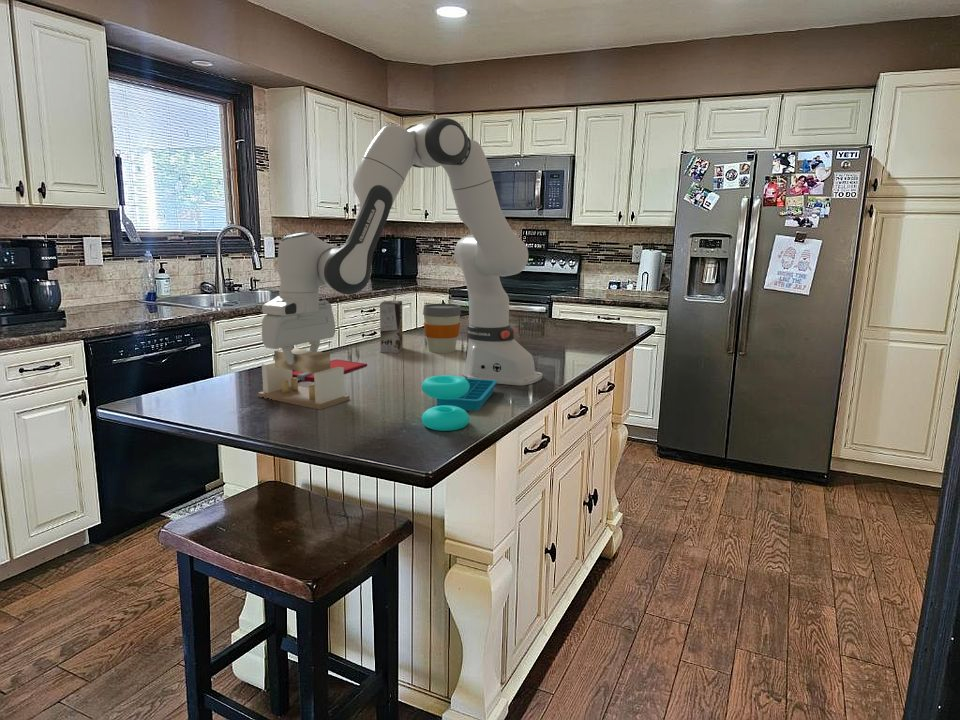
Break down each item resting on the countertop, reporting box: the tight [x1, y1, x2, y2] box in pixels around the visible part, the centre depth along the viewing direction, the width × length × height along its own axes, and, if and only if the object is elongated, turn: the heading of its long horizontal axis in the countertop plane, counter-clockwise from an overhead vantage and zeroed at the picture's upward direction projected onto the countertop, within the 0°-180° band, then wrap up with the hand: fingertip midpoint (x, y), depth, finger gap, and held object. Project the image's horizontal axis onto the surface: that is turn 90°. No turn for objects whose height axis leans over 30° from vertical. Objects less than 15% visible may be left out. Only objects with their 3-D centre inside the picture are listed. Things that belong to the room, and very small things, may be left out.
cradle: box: [257, 360, 350, 411], centre depth 153 cm, size 20×10×8 cm, turn 60°
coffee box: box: [379, 300, 403, 354], centre depth 211 cm, size 9×6×16 cm
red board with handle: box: [260, 359, 368, 382], centre depth 179 cm, size 30×3×15 cm
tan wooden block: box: [273, 347, 331, 374], centre depth 152 cm, size 13×5×4 cm, turn 60°
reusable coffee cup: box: [422, 303, 462, 354], centre depth 212 cm, size 13×13×15 cm
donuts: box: [421, 374, 470, 432], centre depth 134 cm, size 10×10×10 cm
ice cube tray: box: [434, 377, 498, 412], centre depth 155 cm, size 12×20×3 cm, turn 167°
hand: (302, 361), depth 152 cm, fingers closed on tan wooden block, 5 cm apart
